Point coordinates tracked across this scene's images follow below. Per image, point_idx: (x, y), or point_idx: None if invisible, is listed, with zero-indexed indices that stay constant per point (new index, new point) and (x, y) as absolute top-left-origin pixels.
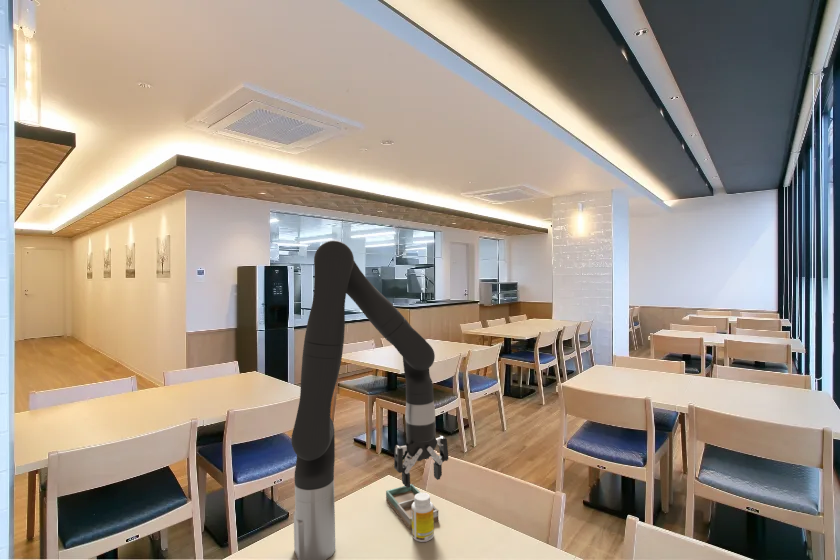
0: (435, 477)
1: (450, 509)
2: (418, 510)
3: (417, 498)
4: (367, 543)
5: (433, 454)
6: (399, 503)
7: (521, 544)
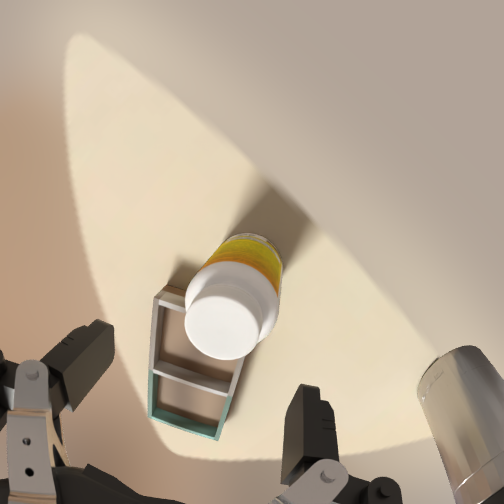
0: (112, 347)
1: (113, 295)
2: (271, 292)
3: (250, 333)
4: (377, 341)
5: (31, 459)
6: (225, 394)
7: (87, 72)
